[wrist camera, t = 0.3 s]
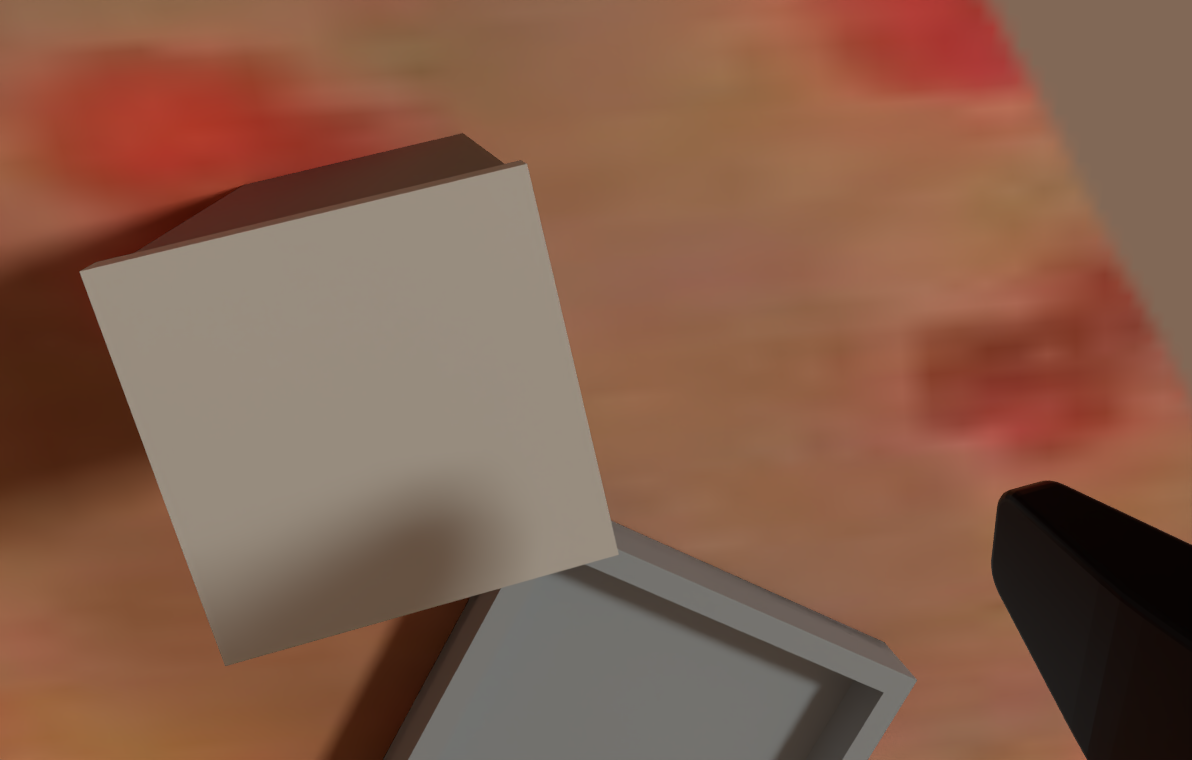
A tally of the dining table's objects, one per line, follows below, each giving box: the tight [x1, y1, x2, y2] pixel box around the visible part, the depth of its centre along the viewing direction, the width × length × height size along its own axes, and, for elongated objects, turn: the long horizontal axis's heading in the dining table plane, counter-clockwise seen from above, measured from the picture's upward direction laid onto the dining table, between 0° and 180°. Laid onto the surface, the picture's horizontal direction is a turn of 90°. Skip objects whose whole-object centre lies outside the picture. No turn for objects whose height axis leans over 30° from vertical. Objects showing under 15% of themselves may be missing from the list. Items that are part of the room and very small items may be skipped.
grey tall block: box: [79, 133, 619, 666], centre depth 17 cm, size 5×5×11 cm
